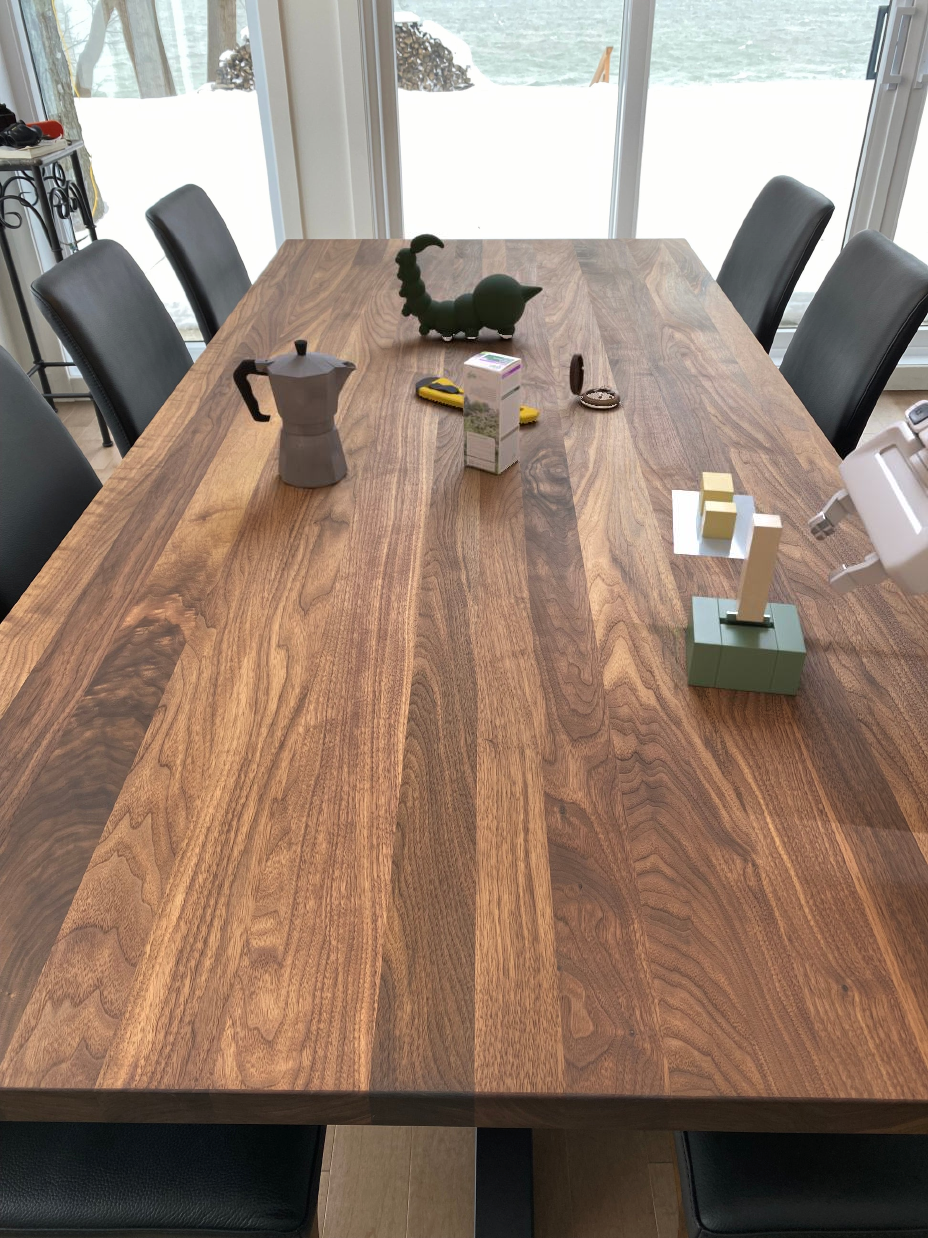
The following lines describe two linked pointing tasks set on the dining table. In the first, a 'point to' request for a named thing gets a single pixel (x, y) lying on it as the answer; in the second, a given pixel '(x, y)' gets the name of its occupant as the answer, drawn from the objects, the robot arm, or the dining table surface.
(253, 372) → the coffeepot
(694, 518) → the butter dish
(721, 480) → the butter stick
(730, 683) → the knife block
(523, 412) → the utility knife
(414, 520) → the dining table surface
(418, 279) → the toy figurine
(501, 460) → the syrup box
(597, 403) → the compass
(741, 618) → the putty knife
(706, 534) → the butter pat
